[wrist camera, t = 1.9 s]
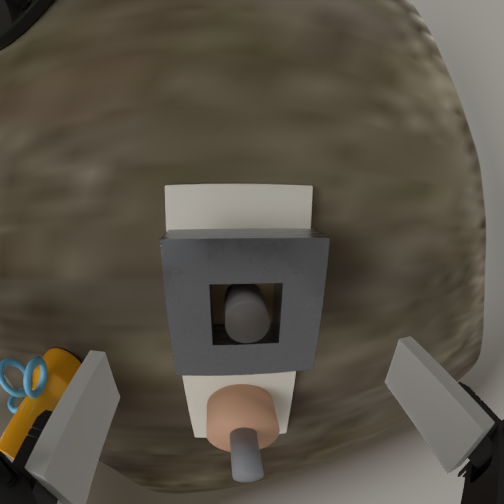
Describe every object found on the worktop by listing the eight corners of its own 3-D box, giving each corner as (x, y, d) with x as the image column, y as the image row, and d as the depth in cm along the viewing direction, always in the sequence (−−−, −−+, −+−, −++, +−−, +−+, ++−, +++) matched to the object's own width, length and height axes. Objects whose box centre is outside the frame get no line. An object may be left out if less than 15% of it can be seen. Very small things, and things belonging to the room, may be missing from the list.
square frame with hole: (168, 229, 16) (159, 239, 14) (315, 228, 17) (329, 237, 15) (180, 353, 19) (176, 375, 16) (303, 348, 20) (312, 369, 17)
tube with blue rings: (18, 350, 23) (-40, 426, 9) (44, 306, 22) (-40, 395, 8) (89, 413, 26) (56, 502, 12) (128, 383, 25) (93, 499, 11)
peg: (204, 384, 25) (201, 459, 16) (275, 381, 25) (294, 453, 17) (209, 426, 26) (210, 491, 18) (271, 423, 27) (285, 486, 19)
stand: (196, 235, 20) (183, 269, 13) (281, 234, 21) (311, 267, 14) (200, 312, 22) (193, 370, 15) (277, 309, 23) (299, 365, 16)
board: (168, 184, 20) (164, 185, 19) (308, 185, 21) (312, 186, 20) (195, 430, 28) (194, 437, 27) (284, 425, 29) (286, 432, 28)
